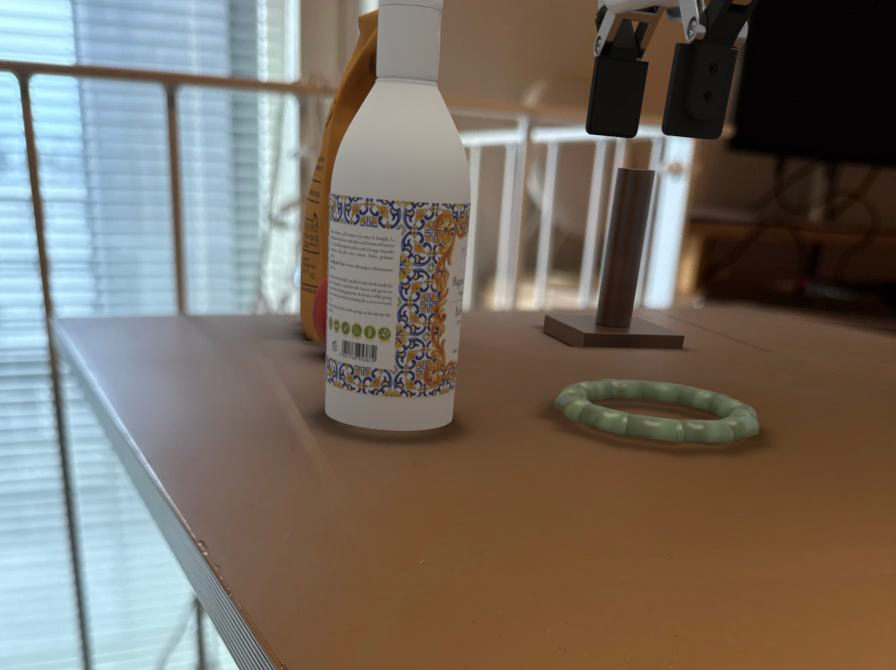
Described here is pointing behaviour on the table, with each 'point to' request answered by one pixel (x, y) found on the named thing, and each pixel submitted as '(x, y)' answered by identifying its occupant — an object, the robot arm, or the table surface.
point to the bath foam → (398, 238)
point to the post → (619, 278)
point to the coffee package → (339, 118)
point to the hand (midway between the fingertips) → (647, 136)
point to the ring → (731, 428)
